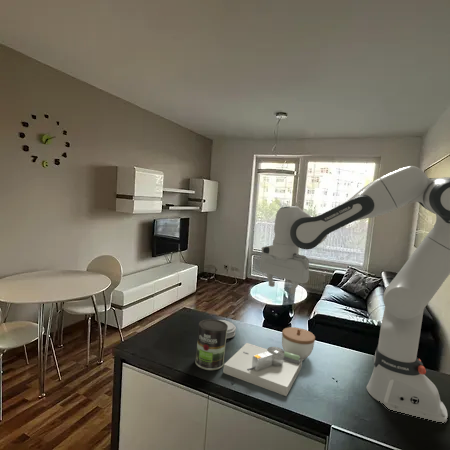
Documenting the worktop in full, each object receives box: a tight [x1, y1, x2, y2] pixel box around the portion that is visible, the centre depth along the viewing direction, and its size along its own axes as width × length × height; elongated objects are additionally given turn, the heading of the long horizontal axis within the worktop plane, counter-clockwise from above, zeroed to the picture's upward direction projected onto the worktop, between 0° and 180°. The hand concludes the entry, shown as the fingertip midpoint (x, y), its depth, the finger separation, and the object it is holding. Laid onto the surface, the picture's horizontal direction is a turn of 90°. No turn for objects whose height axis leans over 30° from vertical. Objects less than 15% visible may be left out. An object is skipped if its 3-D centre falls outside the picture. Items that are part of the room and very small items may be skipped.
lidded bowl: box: [281, 326, 316, 361], centre depth 124 cm, size 13×13×11 cm
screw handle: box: [252, 346, 284, 371], centre depth 109 cm, size 13×6×4 cm, turn 129°
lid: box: [218, 319, 237, 340], centre depth 138 cm, size 13×13×5 cm
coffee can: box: [194, 318, 228, 371], centre depth 112 cm, size 10×10×14 cm
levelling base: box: [222, 342, 303, 397], centre depth 111 cm, size 22×20×5 cm
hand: (281, 289), depth 113 cm, fingers open, 8 cm apart
